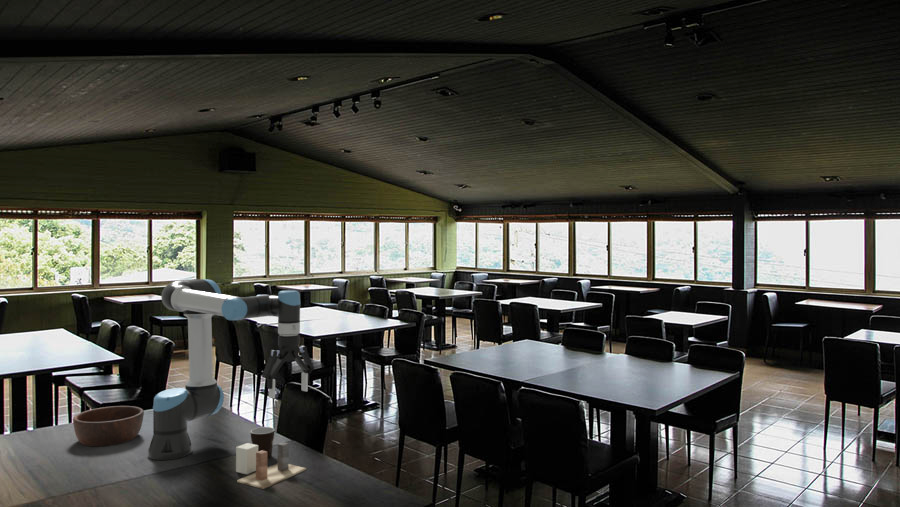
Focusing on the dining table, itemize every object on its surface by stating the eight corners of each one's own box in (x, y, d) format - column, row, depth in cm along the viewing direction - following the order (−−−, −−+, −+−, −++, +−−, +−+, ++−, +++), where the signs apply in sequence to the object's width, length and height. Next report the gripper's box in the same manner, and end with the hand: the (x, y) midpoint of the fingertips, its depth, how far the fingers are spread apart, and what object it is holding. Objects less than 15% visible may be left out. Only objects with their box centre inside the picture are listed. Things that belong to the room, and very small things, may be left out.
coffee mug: (267, 462, 228) (267, 434, 228) (245, 460, 230) (245, 433, 229) (282, 451, 239) (282, 425, 239) (261, 450, 241) (261, 424, 241)
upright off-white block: (236, 471, 218) (236, 447, 218) (247, 467, 223) (247, 442, 223) (246, 474, 216) (246, 449, 216) (258, 469, 220) (258, 445, 220)
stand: (237, 481, 209) (237, 453, 209) (280, 463, 227) (280, 437, 226) (263, 489, 203) (263, 459, 203) (305, 469, 221) (306, 442, 221)
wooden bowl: (156, 436, 256) (156, 411, 256) (94, 453, 235) (94, 426, 235) (122, 426, 270) (122, 402, 270) (60, 441, 249) (60, 415, 249)
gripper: (264, 339, 210) (263, 402, 211) (324, 331, 229) (323, 389, 230) (251, 337, 215) (251, 398, 216) (311, 329, 234) (311, 386, 235)
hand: (288, 394), depth 223 cm, fingers open, 13 cm apart
